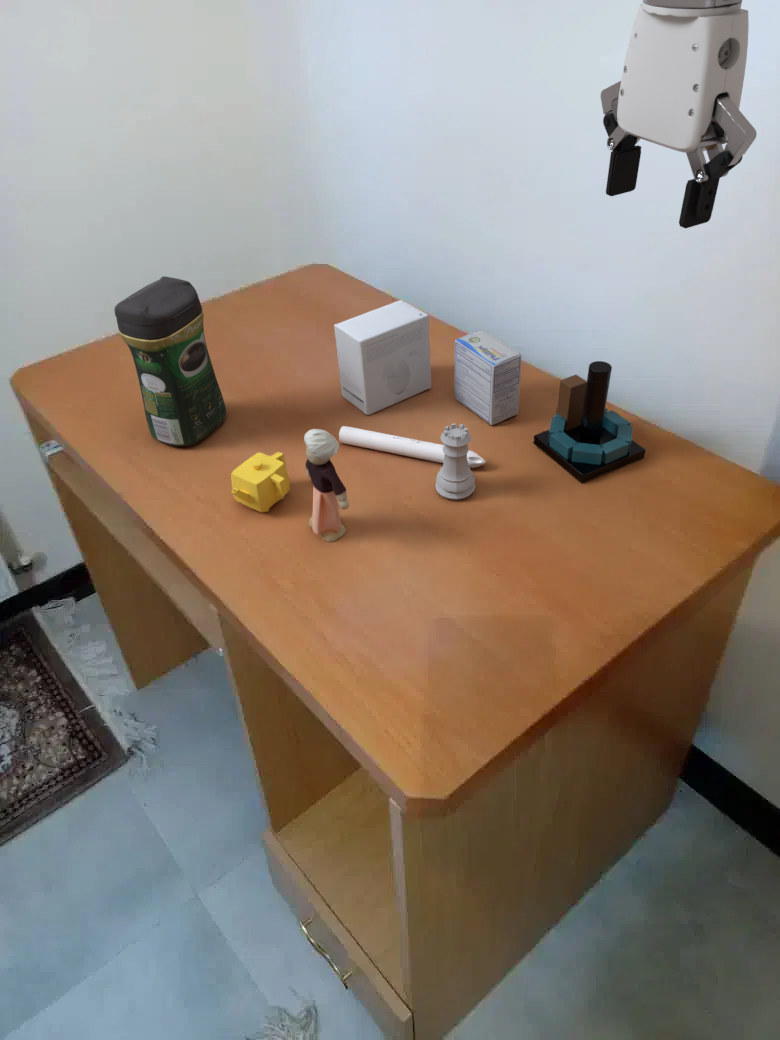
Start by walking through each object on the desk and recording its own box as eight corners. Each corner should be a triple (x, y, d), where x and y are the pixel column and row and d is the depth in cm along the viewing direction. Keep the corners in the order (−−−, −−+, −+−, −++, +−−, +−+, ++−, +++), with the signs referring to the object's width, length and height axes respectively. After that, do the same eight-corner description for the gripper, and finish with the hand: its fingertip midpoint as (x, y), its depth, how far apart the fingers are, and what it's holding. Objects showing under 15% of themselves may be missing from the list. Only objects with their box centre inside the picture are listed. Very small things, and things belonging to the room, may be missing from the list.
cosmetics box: (403, 368, 108) (400, 297, 101) (432, 388, 104) (431, 315, 97) (339, 395, 104) (331, 322, 97) (366, 416, 100) (361, 342, 93)
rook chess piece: (476, 501, 86) (478, 441, 81) (435, 502, 87) (435, 443, 81) (474, 476, 90) (476, 417, 84) (434, 477, 90) (434, 418, 85)
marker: (488, 464, 91) (489, 448, 90) (483, 475, 90) (483, 458, 88) (346, 436, 97) (344, 420, 95) (339, 446, 95) (337, 430, 94)
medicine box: (519, 415, 98) (523, 353, 93) (490, 427, 97) (493, 365, 91) (480, 388, 104) (483, 328, 98) (453, 399, 102) (453, 338, 96)
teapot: (262, 531, 84) (254, 494, 81) (223, 512, 87) (214, 475, 83) (309, 491, 89) (304, 454, 86) (271, 474, 92) (264, 438, 88)
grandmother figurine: (292, 523, 85) (276, 425, 77) (319, 506, 87) (306, 409, 79) (340, 557, 81) (329, 457, 72) (367, 538, 83) (359, 438, 74)
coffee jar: (189, 401, 104) (155, 265, 92) (237, 415, 101) (209, 277, 89) (139, 440, 98) (95, 300, 86) (189, 456, 95) (151, 313, 83)
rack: (644, 458, 91) (662, 373, 83) (581, 483, 88) (594, 397, 80) (593, 420, 97) (605, 338, 90) (533, 443, 94) (541, 360, 87)
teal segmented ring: (647, 446, 90) (656, 402, 87) (584, 473, 87) (591, 428, 83) (592, 408, 97) (598, 365, 93) (532, 432, 94) (536, 389, 90)
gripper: (820, -7, 57) (758, 228, 69) (653, -29, 69) (624, 174, 80) (745, 6, 55) (693, 248, 66) (585, -19, 66) (564, 190, 78)
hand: (655, 207), depth 73 cm, fingers open, 9 cm apart
